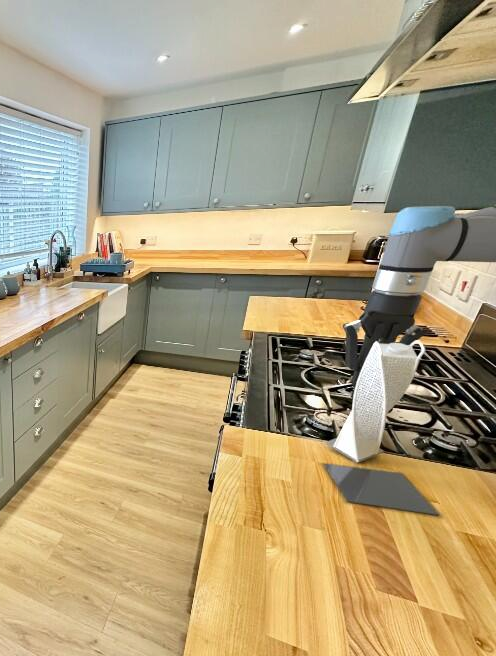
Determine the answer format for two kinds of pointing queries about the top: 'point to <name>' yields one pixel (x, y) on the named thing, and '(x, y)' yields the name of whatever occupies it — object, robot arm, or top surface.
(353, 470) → the slate pad
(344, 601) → the top surface
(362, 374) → the skyscraper
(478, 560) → the top surface
